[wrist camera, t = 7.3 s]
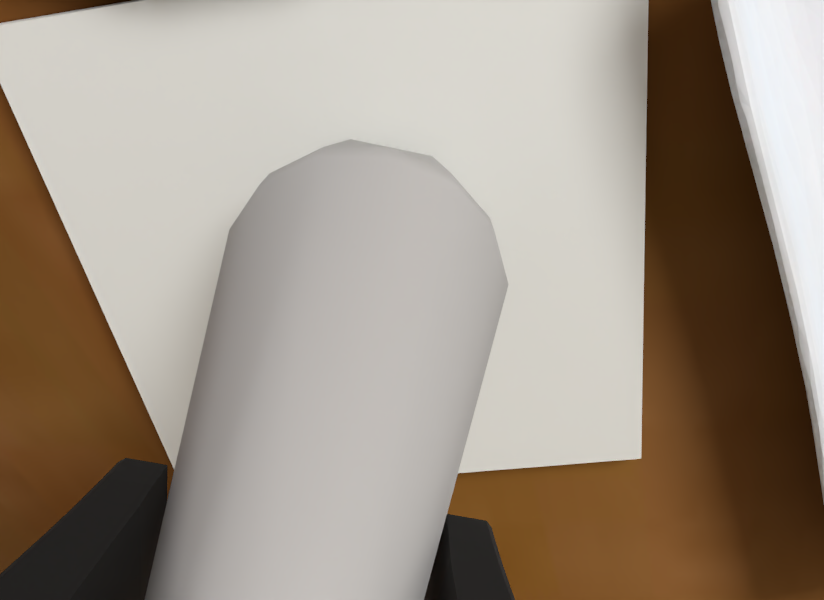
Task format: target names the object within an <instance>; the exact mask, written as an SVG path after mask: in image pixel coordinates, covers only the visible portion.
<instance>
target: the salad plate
mask: <svg viewBox="0 0 824 600" xmlns="http://www.w3.org/2000/svg"><path fill="white" fill-rule="evenodd" d="M711 4H712V9H713V14H714V19H715V23H716V28H717V33H718V38H719V43H720V47H721V51H722V56H723V60H724V64H725V68H726V72H727V76H728V81H729V85H730V89H731V93H732V97H733V100H734V104H735V108H736V111H737V115H738V119H739V122H740V126H741V130H742V133H743V137H744V141H745V145H746V148H747V152H748V156H749V159H750V163H751V167H752V170H753V174H754V178H755V181H756V185H757V189H758V192H759V196H760V200H761V203H762V207H763V211H764V214H765V218H766V222H767V225H768V229H769V233H770V236H771V240H772V244H773V247H774V251H775V256H776V260H777V264H778V268H779V272H780V277H781V281H782V285H783V289H784V293H785V297H786V302H787V306H788V310H789V314H790V319H791V323H792V327H793V332H794V336H795V341H796V346H797V351H798V355H799V360H800V364H801V369H802V374H803V378H804V383H805V388H806V393H807V399H808V405H809V410H810V416H811V422H812V428H813V435H814V441H815V448H816V454H817V461H818V468H819V474H820V481H821V488H822V496H823V503H824V0H711Z"/></svg>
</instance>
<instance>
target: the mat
mask: <svg viewBox="0 0 824 600" xmlns="http://www.w3.org/2000/svg"><path fill="white" fill-rule="evenodd" d="M647 61H648V0H132V1H126V2H120V3H114V4H109V5H103V6H97V7H91V8H85V9H80V10H74V11H68V12H62V13H56V14H51V15H45V16H39V17H33V18H27V19H21V20H16V21H10V22H4V23H0V84H1V86H2V88H3V91H4V93H5V95H6V97H7V99H8V102H9V104H10V106H11V108H12V111H13V113H14V115H15V117H16V119H17V122H18V124H19V126H20V128H21V131H22V133H23V135H24V137H25V139H26V142H27V144H28V146H29V148H30V151H31V153H32V155H33V157H34V159H35V162H36V164H37V166H38V168H39V171H40V173H41V175H42V177H43V179H44V182H45V184H46V186H47V188H48V191H49V193H50V195H51V197H52V199H53V202H54V204H55V206H56V208H57V211H58V213H59V215H60V217H61V219H62V222H63V224H64V226H65V228H66V231H67V233H68V235H69V237H70V239H71V242H72V244H73V246H74V248H75V251H76V253H77V255H78V257H79V259H80V262H81V264H82V266H83V268H84V271H85V273H86V275H87V277H88V279H89V282H90V284H91V286H92V288H93V291H94V293H95V295H96V297H97V299H98V302H99V304H100V306H101V308H102V311H103V313H104V315H105V317H106V319H107V322H108V324H109V326H110V328H111V331H112V333H113V335H114V337H115V339H116V342H117V344H118V346H119V348H120V351H121V353H122V355H123V357H124V359H125V362H126V364H127V366H128V368H129V371H130V373H131V375H132V377H133V379H134V382H135V384H136V386H137V388H138V391H139V393H140V395H141V397H142V399H143V402H144V404H145V406H146V408H147V411H148V413H149V415H150V417H151V419H152V422H153V424H154V426H155V428H156V431H157V433H158V435H159V437H160V439H161V442H162V444H163V446H164V448H165V451H166V453H167V455H168V457H169V459H170V462H171V464H172V466H173V468H174V469H175V465H176V460H177V456H178V452H179V447H180V443H181V438H182V434H183V430H184V425H185V421H186V417H187V412H188V408H189V404H190V399H191V395H192V390H193V386H194V382H195V377H196V373H197V369H198V364H199V360H200V355H201V351H202V347H203V342H204V338H205V334H206V329H207V325H208V321H209V316H210V312H211V307H212V303H213V299H214V294H215V290H216V286H217V281H218V277H219V273H220V268H221V264H222V259H223V255H224V251H225V246H226V242H227V238H228V233H229V229H230V228H231V226H232V225H233V223H234V222H235V220H236V219H237V217H238V216H239V214H240V213H241V211H242V210H243V208H244V207H245V205H246V204H247V202H248V201H249V199H250V198H251V196H252V195H253V193H254V192H255V190H256V189H257V188H258V186H259V185H260V183H261V182H262V181H263V180H264V179H265V178H266V177H267V176H268V174H269V173H271V172H273V171H275V170H277V169H279V168H281V167H283V166H286V165H288V164H290V163H292V162H294V161H296V160H298V159H300V158H302V157H304V156H306V155H308V154H310V153H312V152H314V151H316V150H318V149H320V148H322V147H325V146H328V145H332V144H335V143H339V142H343V141H346V140H350V139H352V140H357V141H362V142H367V143H371V144H376V145H381V146H386V147H391V148H396V149H401V150H405V151H410V152H415V153H420V154H425V155H430V156H433V157H434V158H435V159H436V160H437V161H438V162H439V163H440V164H441V165H443V166H444V167H445V168H446V169H447V170H448V171H449V172H450V173H451V174H452V175H453V176H454V177H455V178H456V179H457V180H458V182H459V183H460V184H461V185H462V186H463V187H464V189H465V190H466V191H467V192H468V193H469V194H470V195H471V197H472V198H473V199H474V200H475V201H476V202H477V204H478V205H479V206H480V207H481V208H482V209H483V210H484V212H485V213H486V214H487V215H488V216H489V217H490V219H491V222H492V225H493V228H494V231H495V235H496V239H497V243H498V247H499V250H500V254H501V258H502V262H503V266H504V269H505V273H506V277H507V281H508V288H507V292H506V296H505V300H504V303H503V307H502V311H501V315H500V318H499V322H498V326H497V329H496V333H495V337H494V341H493V344H492V348H491V352H490V355H489V359H488V363H487V367H486V370H485V374H484V378H483V381H482V385H481V389H480V393H479V396H478V400H477V404H476V408H475V411H474V415H473V419H472V422H471V426H470V430H469V434H468V437H467V441H466V445H465V448H464V452H463V456H462V460H461V463H460V467H459V471H458V473H467V472H479V471H492V470H504V469H517V468H529V467H542V466H554V465H567V464H579V463H592V462H604V461H617V460H630V459H641V438H642V375H643V312H644V249H645V186H646V124H647Z"/></svg>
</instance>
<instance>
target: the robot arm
mask: <svg viewBox="0 0 824 600" xmlns="http://www.w3.org/2000/svg"><path fill="white" fill-rule="evenodd" d="M166 504H167V465H163V464H158V463H152V462H146V461H140V460H135V459H129V458H125V459H123V460H121V461H120V462H118V463H117V464H116V465H115V466H114V467H113V468H112V469H111V470H110V471H109V472H108V473H107V474H106V475H105V476H104V477H103V478H102V479H101V480H100V481H99V482H98V483H97V484H96V485H95V486H94V487H93V488H92V489H91V490H90V491H89V492H88V493H87V494H86V495H85V496H84V497H83V498H82V499H81V500H80V501H79V502H78V503H77V504H76V505H75V506H74V507H73V508H72V509H71V510H70V511H69V512H68V513H67V514H66V515H65V516H63V517H62V518H61V519H60V520H59V521H58V522H57V523H56V524H55V525H54V526H53V527H52V528H51V529H50V530H49V531H48V532H47V533H45V534H44V535H43V536H42V537H41V538H40V539H39V540H38V541H37V542H35V543H34V544H33V545H32V546H31V547H30V548H29V549H28V550H27V551H25V552H24V553H23V554H22V555H21V556H20V557H19V558H18V559H17V560H15V561H14V562H13V563H12V564H11V565H10V566H9V567H8V568H7V569H5V570H4V571H3V572H2V573H1V574H0V600H145V596H146V591H147V587H148V583H149V578H150V574H151V569H152V565H153V561H154V556H155V552H156V548H157V543H158V539H159V535H160V530H161V526H162V521H163V517H164V513H165V508H166ZM424 600H515V599H514V596H513V593H512V590H511V588H510V585H509V582H508V579H507V576H506V573H505V570H504V567H503V564H502V561H501V558H500V555H499V552H498V548H497V545H496V542H495V539H494V535H493V532H492V528H491V526H490V525H489V524H488V522H487V521H484V520H478V519H473V518H467V517H461V516H455V515H450V514H447V515H446V519H445V523H444V527H443V530H442V534H441V538H440V542H439V545H438V549H437V553H436V556H435V560H434V564H433V568H432V571H431V575H430V579H429V582H428V586H427V590H426V594H425V597H424Z"/></svg>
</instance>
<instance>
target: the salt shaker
mask: <svg viewBox="0 0 824 600" xmlns="http://www.w3.org/2000/svg"><path fill="white" fill-rule="evenodd" d="M507 288H508V281H507V277H506V273H505V269H504V266H503V262H502V258H501V254H500V250H499V247H498V243H497V239H496V235H495V231H494V228H493V225H492V222H491V219H490V217H489V216H488V215H487V214H486V213H485V212H484V210H483V209H482V208H481V207H480V206H479V205H478V204H477V202H476V201H475V200H474V199H473V198H472V197H471V195H470V194H469V193H468V192H467V191H466V190H465V189H464V187H463V186H462V185H461V184H460V183H459V182H458V180H457V179H456V178H455V177H454V176H453V175H452V174H451V173H450V172H449V171H448V170H447V169H446V168H445V167H444V166H443V165H441V164H440V163H439V162H438V161H437V160H436V159H435V158H434V157H433V156H430V155H425V154H420V153H415V152H410V151H405V150H401V149H396V148H391V147H386V146H381V145H376V144H371V143H367V142H362V141H357V140H352V139H350V140H346V141H343V142H339V143H335V144H332V145H328V146H325V147H322V148H320V149H318V150H316V151H314V152H312V153H310V154H308V155H306V156H304V157H302V158H300V159H298V160H296V161H294V162H292V163H290V164H288V165H286V166H283V167H281V168H279V169H277V170H275V171H273V172H271V173H269V174H268V176H267V177H266V178H265V179H264V180H263V181H262V182H261V183H260V185H259V186H258V188H257V189H256V190H255V192H254V193H253V195H252V196H251V198H250V199H249V201H248V202H247V204H246V205H245V207H244V208H243V210H242V211H241V213H240V214H239V216H238V217H237V219H236V220H235V222H234V223H233V225H232V226H231V228H230V229H229V233H228V238H227V242H226V246H225V251H224V255H223V259H222V264H221V268H220V273H219V277H218V281H217V286H216V290H215V294H214V299H213V303H212V307H211V312H210V316H209V321H208V325H207V329H206V334H205V338H204V342H203V347H202V351H201V355H200V360H199V364H198V369H197V373H196V377H195V382H194V386H193V390H192V395H191V399H190V404H189V408H188V412H187V417H186V421H185V425H184V430H183V434H182V438H181V443H180V447H179V452H178V456H177V460H176V465H175V469H174V473H173V478H172V482H171V486H170V491H169V495H168V500H167V504H166V508H165V513H164V517H163V521H162V526H161V530H160V535H159V539H158V543H157V548H156V552H155V556H154V561H153V565H152V569H151V574H150V578H149V583H148V587H147V591H146V596H145V600H424V597H425V594H426V590H427V586H428V582H429V579H430V575H431V571H432V568H433V564H434V560H435V556H436V553H437V549H438V545H439V542H440V538H441V534H442V530H443V527H444V523H445V519H446V515H447V512H448V508H449V504H450V501H451V497H452V493H453V489H454V486H455V482H456V478H457V475H458V471H459V467H460V463H461V460H462V456H463V452H464V448H465V445H466V441H467V437H468V434H469V430H470V426H471V422H472V419H473V415H474V411H475V408H476V404H477V400H478V396H479V393H480V389H481V385H482V381H483V378H484V374H485V370H486V367H487V363H488V359H489V355H490V352H491V348H492V344H493V341H494V337H495V333H496V329H497V326H498V322H499V318H500V315H501V311H502V307H503V303H504V300H505V296H506V292H507Z"/></svg>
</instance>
